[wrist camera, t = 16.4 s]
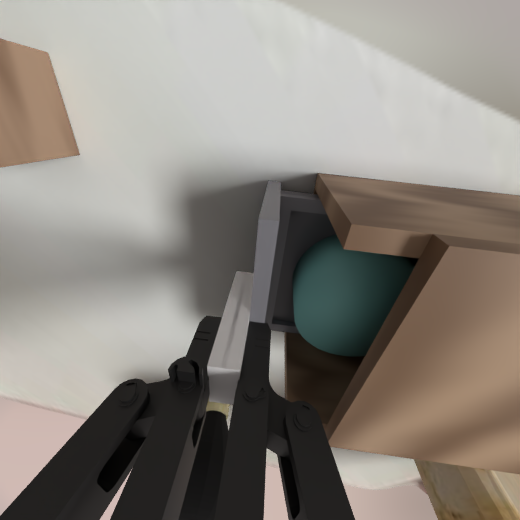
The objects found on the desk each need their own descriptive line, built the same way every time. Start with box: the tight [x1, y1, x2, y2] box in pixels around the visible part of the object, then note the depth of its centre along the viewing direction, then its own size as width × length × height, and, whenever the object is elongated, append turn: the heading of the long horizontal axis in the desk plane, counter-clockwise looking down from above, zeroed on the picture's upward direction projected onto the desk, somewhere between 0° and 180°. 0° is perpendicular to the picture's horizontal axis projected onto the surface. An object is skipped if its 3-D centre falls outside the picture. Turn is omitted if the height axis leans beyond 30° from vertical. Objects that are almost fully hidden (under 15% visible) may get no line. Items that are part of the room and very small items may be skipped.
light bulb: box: [178, 399, 230, 520], centre depth 23 cm, size 7×7×12 cm
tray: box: [249, 181, 419, 334], centre depth 14 cm, size 18×13×6 cm
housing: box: [285, 173, 520, 474], centre depth 14 cm, size 16×14×9 cm
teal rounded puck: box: [292, 234, 415, 357], centre depth 15 cm, size 8×8×4 cm
